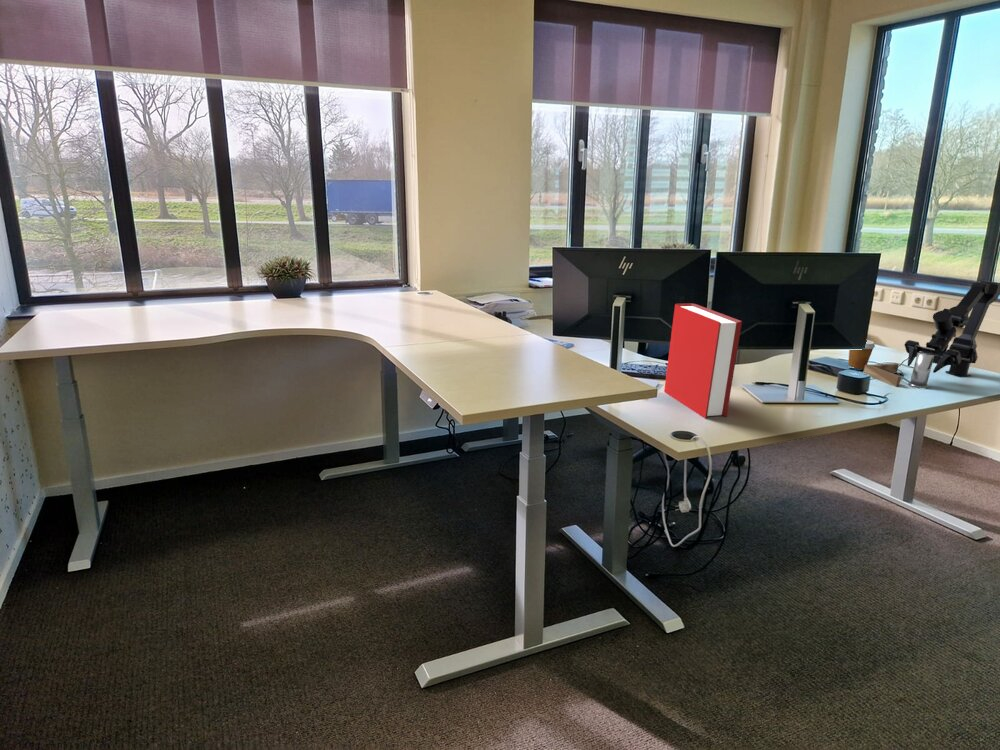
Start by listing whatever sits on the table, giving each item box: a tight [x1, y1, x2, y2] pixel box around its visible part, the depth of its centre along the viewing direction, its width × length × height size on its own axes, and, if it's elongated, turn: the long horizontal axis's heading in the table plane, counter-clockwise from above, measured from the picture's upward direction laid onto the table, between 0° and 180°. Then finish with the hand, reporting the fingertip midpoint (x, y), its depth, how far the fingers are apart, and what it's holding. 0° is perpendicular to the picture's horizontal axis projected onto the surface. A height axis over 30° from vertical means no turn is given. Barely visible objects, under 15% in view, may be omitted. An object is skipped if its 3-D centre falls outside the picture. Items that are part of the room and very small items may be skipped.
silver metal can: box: [907, 351, 935, 389], centre depth 242 cm, size 6×6×13 cm
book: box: [663, 302, 743, 419], centre depth 211 cm, size 27×8×32 cm, turn 16°
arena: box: [863, 363, 902, 388], centre depth 250 cm, size 15×16×4 cm
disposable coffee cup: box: [847, 339, 876, 372], centre depth 261 cm, size 10×10×12 cm
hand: (920, 368), depth 241 cm, fingers open, 9 cm apart
